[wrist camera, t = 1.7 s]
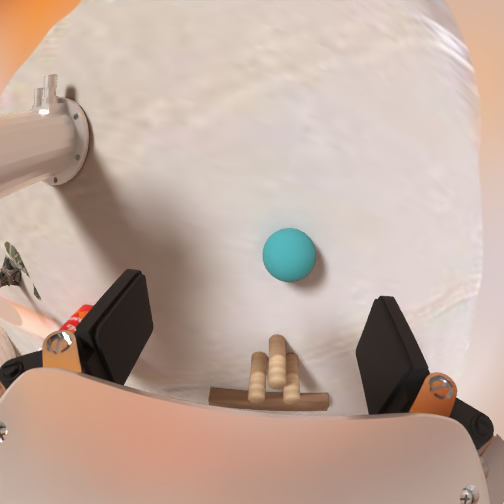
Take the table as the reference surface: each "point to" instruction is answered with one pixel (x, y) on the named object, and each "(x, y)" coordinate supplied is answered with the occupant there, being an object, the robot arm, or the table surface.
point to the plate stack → (5, 348)
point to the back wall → (267, 401)
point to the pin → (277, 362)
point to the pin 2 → (291, 380)
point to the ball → (289, 255)
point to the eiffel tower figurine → (13, 269)
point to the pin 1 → (257, 378)
